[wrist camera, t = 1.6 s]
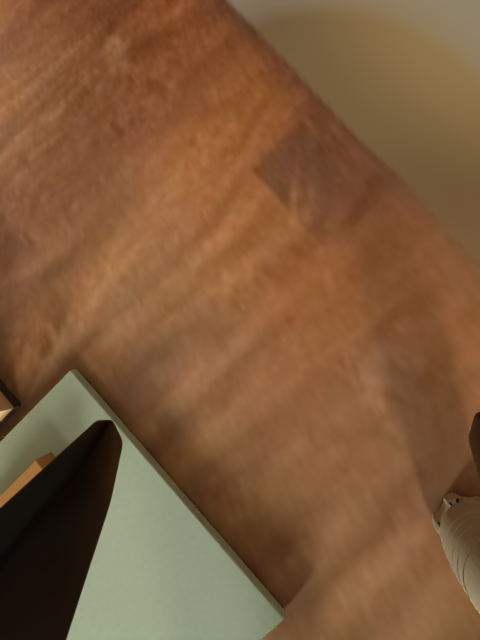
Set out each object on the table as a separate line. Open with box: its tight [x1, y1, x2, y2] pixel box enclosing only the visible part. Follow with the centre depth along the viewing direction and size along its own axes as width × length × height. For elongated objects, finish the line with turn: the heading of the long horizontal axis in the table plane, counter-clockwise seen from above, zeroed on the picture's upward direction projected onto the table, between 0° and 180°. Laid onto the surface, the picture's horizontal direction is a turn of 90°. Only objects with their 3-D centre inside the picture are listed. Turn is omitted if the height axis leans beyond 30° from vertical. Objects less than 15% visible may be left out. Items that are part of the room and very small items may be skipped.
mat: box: [0, 369, 285, 640], centre depth 26 cm, size 20×18×1 cm
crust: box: [0, 452, 56, 508], centre depth 25 cm, size 4×4×2 cm
